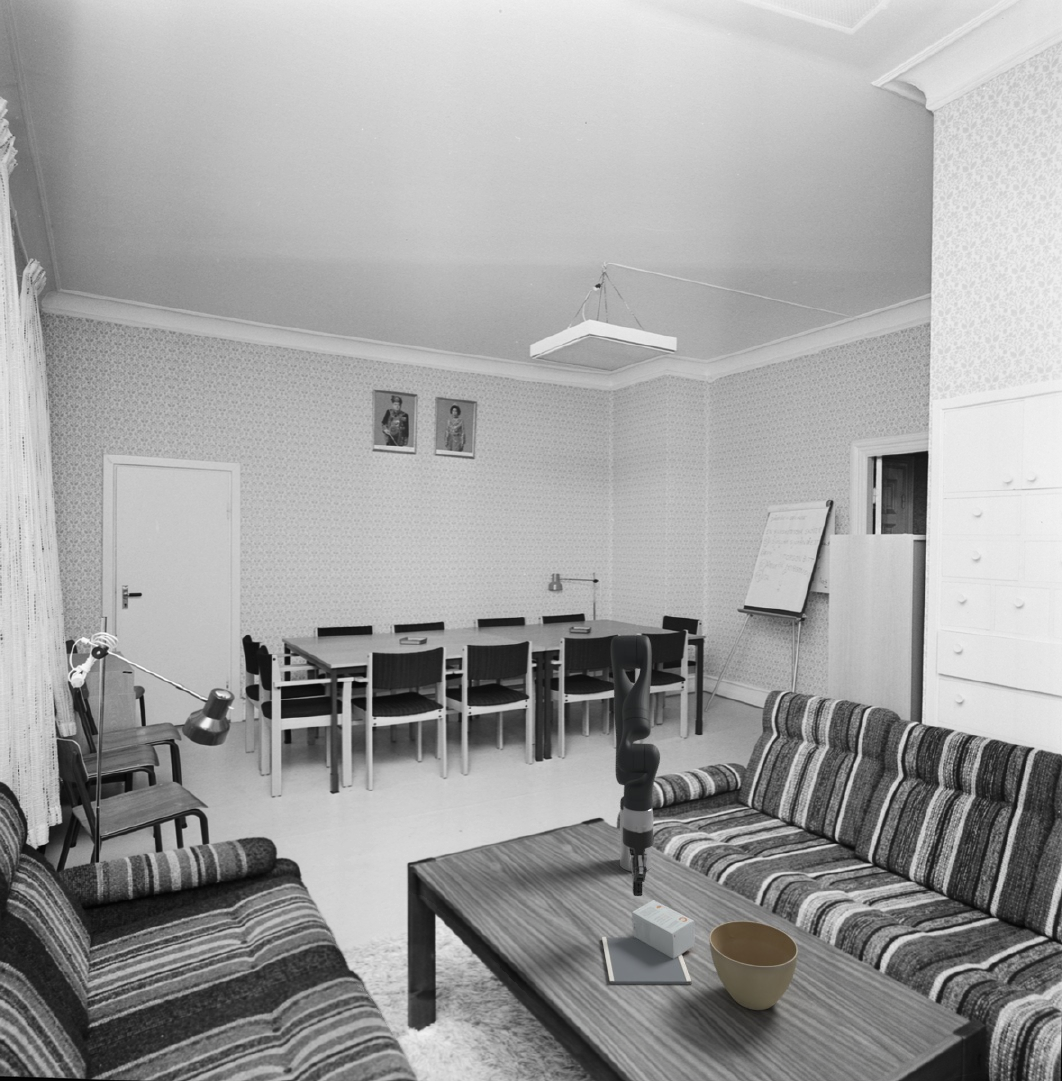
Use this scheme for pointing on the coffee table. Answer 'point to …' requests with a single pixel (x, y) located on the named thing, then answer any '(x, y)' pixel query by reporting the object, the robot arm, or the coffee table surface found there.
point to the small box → (663, 929)
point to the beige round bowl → (753, 962)
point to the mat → (641, 963)
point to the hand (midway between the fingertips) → (637, 894)
